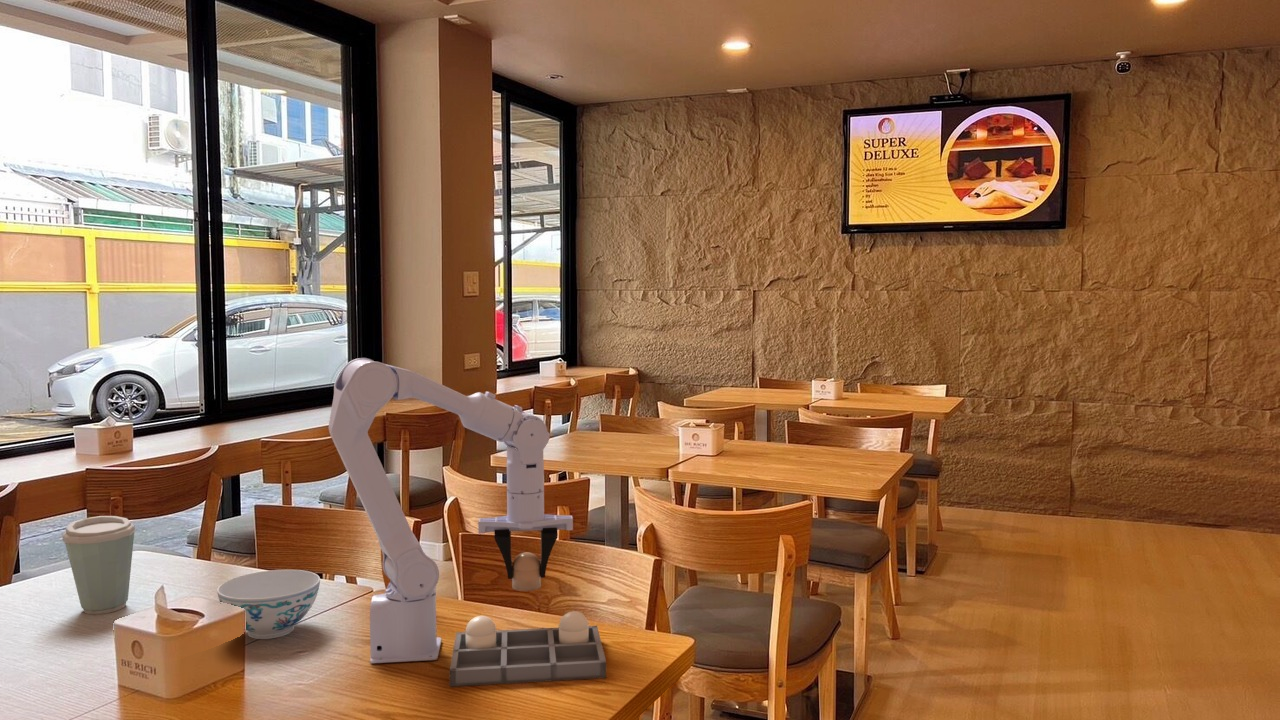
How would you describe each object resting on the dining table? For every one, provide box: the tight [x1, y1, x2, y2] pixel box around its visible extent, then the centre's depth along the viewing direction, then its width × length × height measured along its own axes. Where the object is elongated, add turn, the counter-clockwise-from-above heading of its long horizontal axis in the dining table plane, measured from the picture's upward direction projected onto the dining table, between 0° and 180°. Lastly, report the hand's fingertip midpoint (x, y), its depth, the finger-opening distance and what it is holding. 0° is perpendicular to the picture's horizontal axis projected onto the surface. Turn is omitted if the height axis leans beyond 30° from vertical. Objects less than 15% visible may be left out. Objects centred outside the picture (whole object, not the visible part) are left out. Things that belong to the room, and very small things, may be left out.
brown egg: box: [511, 551, 542, 592], centre depth 145 cm, size 4×4×5 cm
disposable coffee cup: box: [61, 515, 137, 615], centre depth 156 cm, size 11×11×15 cm
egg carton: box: [449, 610, 607, 688], centre depth 133 cm, size 21×14×6 cm
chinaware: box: [216, 569, 321, 640], centre depth 146 cm, size 15×15×8 cm
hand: (526, 576), depth 145 cm, fingers closed on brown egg, 4 cm apart
